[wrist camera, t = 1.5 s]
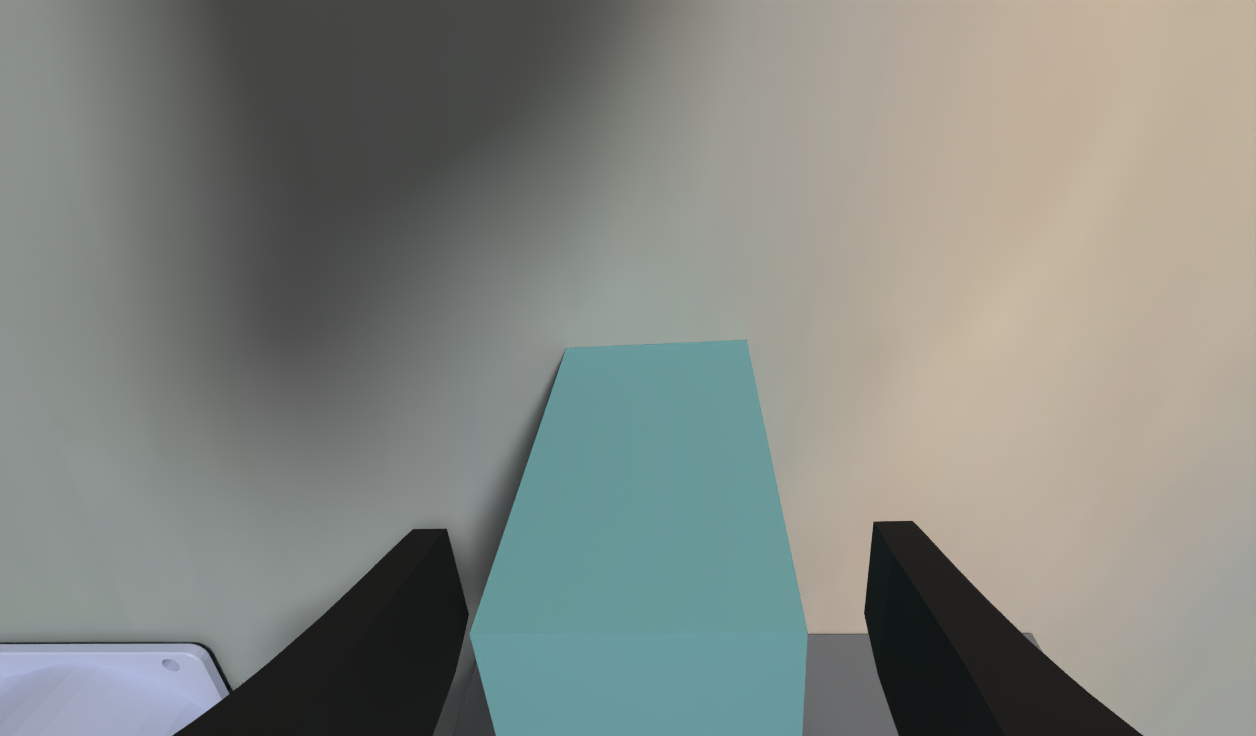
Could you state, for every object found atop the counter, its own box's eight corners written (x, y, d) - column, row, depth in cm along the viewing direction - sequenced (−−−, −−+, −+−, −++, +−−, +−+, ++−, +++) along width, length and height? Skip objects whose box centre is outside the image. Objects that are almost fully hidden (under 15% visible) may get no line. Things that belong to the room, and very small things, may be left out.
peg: (585, 491, 17) (520, 828, 10) (566, 347, 15) (469, 634, 8) (746, 487, 17) (797, 834, 10) (746, 340, 15) (808, 632, 8)
